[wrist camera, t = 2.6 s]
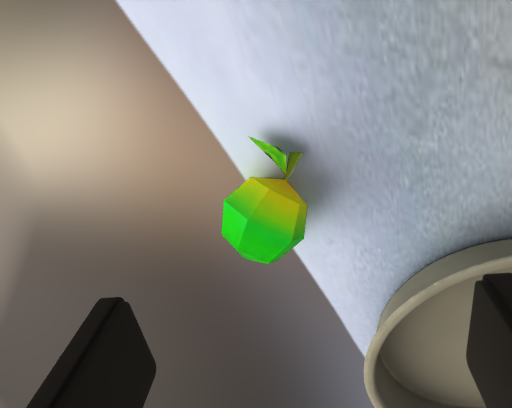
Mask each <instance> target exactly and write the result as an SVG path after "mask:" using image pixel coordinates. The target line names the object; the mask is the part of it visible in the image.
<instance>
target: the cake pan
mask: <svg viewBox="0 0 512 408" xmlns="http://www.w3.org/2000/svg"><path fill="white" fill-rule="evenodd" d="M494 273H512V239H509V240H500V241H494V242H489V243H484V244H480V245H477V246H473V247H470V248H466V249H463V250H461V251H458V252H456V253H453V254H450V255H448V256H446V257H444V258H442V259H440V260H438V261H436V262H434V263H432V264H430V265H429V266H427V267H426V268H424V269H422V270H421V271H419V272H418V273H417V274H415V275H414V276H412V277H411V278H410V279H409V280H408V281H407V282H406V283H404V284H403V285H402V286H401V287H400V288H399V289H398V290H397V291H396V293H395V294H394V295H393V296H392V298H391V299H390V300H389V302H388V303H387V305H386V307H385V308H384V310H383V312H382V315H381V317H380V320H379V323H378V327H377V333H376V334H375V336H374V338H373V339H372V341H371V344H370V346H369V348H368V351H367V354H366V358H365V362H364V382H365V387H366V391H367V393H368V396H369V398H370V400H371V402H372V404H373V405H374V407H375V408H486V406H485V403H484V401H483V399H482V397H481V395H480V392H479V390H478V388H477V386H476V383H475V381H474V379H473V377H472V375H471V372H470V370H469V368H468V364H467V360H466V349H467V342H468V334H469V326H470V318H471V311H472V303H473V295H474V287H475V282H476V281H478V280H482V278H483V276H484V274H494Z"/></svg>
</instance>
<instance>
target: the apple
mask: <svg viewBox="0 0 512 408" xmlns="http://www.w3.org/2000/svg"><path fill="white" fill-rule="evenodd" d="M248 137H249V136H248ZM249 138H250V139H251V140H252V141H253V142H254V143H256V144H257V145H258V146H259V147H260V148H261V149H262V150H263V151H264V152H265V153H266V154H267V155H268V156H269V157H270V158H271V159H272V160H273V161H274V162H275V163H276V164H277V165H278V166H279V167H280V169H281V170H282V171H283V172H284V173H285V179H272V178H257V177H250V178H249V179H248V180H247V181H246V182H245V183H243V185H241V186H240V187H239V188H238V189H236V190H235V191H234V192H233V193H232V194H231V195H229V196H228V197H227V198H226V199H225V200H224V207H223V222H222V224H223V225H222V235H223V236H224V237H225V238H226V239H227V240H228V241H229V243H230V244H231V245H232V246H233V247H234V248H235V249H236V250H237V251H238V252H239V253H240V254H241V256H242V257H243V258H244V259H248V260H253V261H257V262H262V263H267V264H268V263H271V262H274V261H277V260H279V259H280V258H281V257H282V256H283V255H285V254H286V253H287V252H288V251H289V250H291V249H292V248H293V247H294V246H295V245H297V244H298V243H299V242H300V241H301V240H303V239H304V233H305V224H306V215H307V206H308V205H307V204H306V203H305V202H304V200H303V199H302V198H301V197H300V196H299V195H298V193H297V192H296V191H295V190H294V189H293V187H292V186H291V185H290V184H289V183H288V181H287V180H288V179H289V177H290V175H291V173H292V172H293V170H294V168H295V166H296V164H297V163H298V161H299V159H300V157H301V156H302V154H303V152H290V153H289V158H288V163H287V168H286V155H285V154H284V153H283V152H282V151H281V150H280V149H279V148H278V147H275V146H272V145H270V144H267V143H264V142H262V141H259V140H256V139H254V138H251V137H249Z"/></svg>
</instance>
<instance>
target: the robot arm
mask: <svg viewBox="0 0 512 408" xmlns="http://www.w3.org/2000/svg"><path fill="white" fill-rule="evenodd" d="M466 360H467V364H468V368H469V370H470V372H471V375H472V377H473V379H474V381H475V383H476V386H477V388H478V390H479V392H480V395H481V397H482V399H483V401H484V403H485V406H486V408H512V273H494V274H484V276H483V278H482V280H478V281H476V282H475V287H474V295H473V303H472V311H471V318H470V326H469V334H468V342H467V349H466ZM155 374H156V363H155V360H154V358H153V356H152V354H151V352H150V349H149V347H148V345H147V343H146V340H145V338H144V336H143V333H142V331H141V329H140V327H139V324H138V323H137V320H136V318H135V316H134V313H133V311H132V309H131V307H130V305H129V303H128V302H125V301H124V300H123V298H121V297H115V298H101V299H99V300H98V302H97V303H96V304H95V306H94V307H93V309H92V310H91V312H90V313H89V315H88V316H87V318H86V319H85V321H84V322H83V324H82V325H81V327H80V328H79V330H78V331H77V333H76V334H75V336H74V337H73V339H72V340H71V342H70V343H69V345H68V346H67V348H66V349H65V351H64V352H63V353H62V355H61V356H60V358H59V360H58V361H57V363H56V364H55V366H54V367H53V368H52V370H51V371H50V373H49V375H48V376H47V378H46V379H45V380H44V382H43V383H42V385H41V386H40V388H39V389H38V391H37V392H36V394H35V395H34V397H33V398H32V400H31V401H30V403H29V404H28V406H27V407H26V408H143V406H144V403H145V400H146V398H147V395H148V393H149V390H150V388H151V385H152V382H153V380H154V377H155Z"/></svg>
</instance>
